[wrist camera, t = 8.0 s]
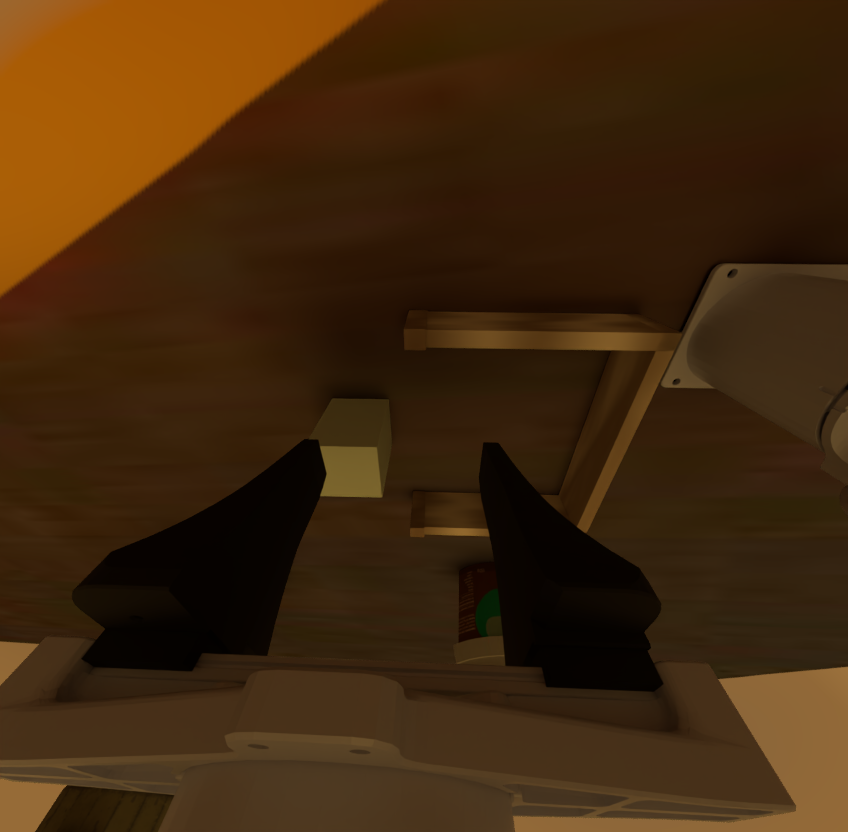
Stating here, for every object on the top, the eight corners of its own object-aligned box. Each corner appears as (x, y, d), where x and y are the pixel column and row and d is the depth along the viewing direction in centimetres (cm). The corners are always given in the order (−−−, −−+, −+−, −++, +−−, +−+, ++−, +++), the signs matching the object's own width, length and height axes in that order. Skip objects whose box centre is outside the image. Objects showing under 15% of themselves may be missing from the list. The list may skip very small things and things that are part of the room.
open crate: (640, 312, 19) (686, 332, 16) (566, 503, 29) (584, 541, 26) (409, 309, 20) (403, 328, 16) (413, 499, 30) (410, 536, 26)
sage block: (389, 399, 23) (376, 447, 18) (392, 444, 26) (382, 497, 21) (332, 398, 24) (304, 445, 19) (340, 443, 26) (318, 495, 21)
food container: (558, 580, 37) (595, 686, 28) (521, 599, 40) (545, 701, 31) (485, 542, 33) (502, 651, 25) (449, 566, 36) (454, 671, 27)
